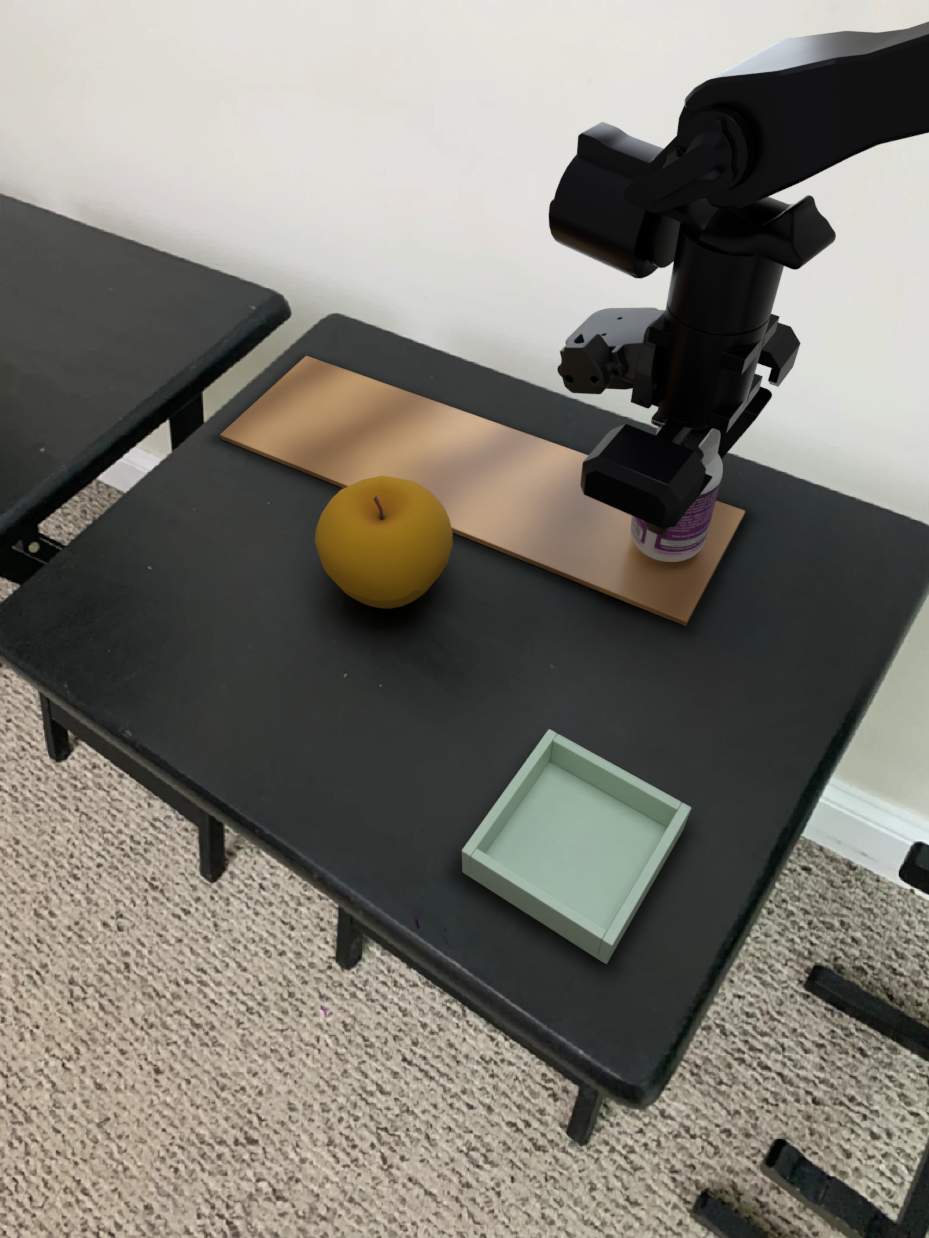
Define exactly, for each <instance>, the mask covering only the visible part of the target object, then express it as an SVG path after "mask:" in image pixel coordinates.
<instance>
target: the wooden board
mask: <svg viewBox="0 0 929 1238" xmlns="http://www.w3.org/2000/svg"><path fill="white" fill-rule="evenodd" d="M219 438H220V439H221V440H222V441H225V442H227V443H229V444H232V445H235V446H237V447H240V448H242V449H245V450H247V451H249V452H252V453H255V454H257V455H259V456H262V457H265V458H267V459H269V460H272V461H275V462H277V463H278V464H282V465H284V466H287V467H289V468H292V469H293V470H297V471H299V472H302V473H304V474H306V475H309V476H311V477H314V478H317V479H319V480H322V481H324V482H327V483H329V484H331V485H333V486H337V487H338V488H341V489H344V488H346V487H348V486H350V485H352V484H354V483H357V482H359V481H361V480H364V479H369V478H373V477H378V476H387V477H393V478H399V479H405V480H411V481H413V482H415V483H418V484H419V485H421V486H422V487H424V488H425V489H427V490H428V491H430V492H431V493H432V494H433V495H434V496H435V497H436V498H437V499H438V500H439V501H440V503H441V504H442V505H443V506H444V508H445V510H446V512H447V515H448V517H449V520H450V523H451V527H452V533H453V534H455V535H457V536H460V537H464V538H466V539H469V540H471V541H473V542H476V543H478V544H480V545H483V546H485V547H488V548H491V549H493V550H496V551H498V552H499V553H503V554H505V555H507V556H510V557H513V558H515V559H518V560H520V561H523V562H525V563H528V564H531V565H532V566H535V567H538V568H540V569H542V570H545V571H548V572H550V573H551V574H555V575H557V576H560V577H562V578H565V579H568V580H570V581H572V582H575V583H577V584H580V585H582V586H585V587H587V588H590V589H591V590H595V591H597V592H599V593H602V594H604V595H607V596H610V597H612V598H614V599H617V600H620V601H622V602H625V603H627V604H629V605H632V606H635V607H637V608H638V609H642V610H644V611H647V612H649V613H652V614H654V615H657V616H659V617H662V618H664V619H666V620H669V621H671V622H674V623H677V624H679V625H682V626H684V627H686V626H687V625H688V623H689V622H690V619H691V617H692V615H693V614H694V612H695V610H696V608H697V606H698V604H699V602H700V600H701V599H702V596H703V595H704V592H705V591H706V589H707V587H708V585H709V583H710V581H711V580H712V578H713V576H714V574H715V572H716V570H717V568H718V566H719V564H720V563H721V561H722V558H723V556H724V555H725V553H726V551H727V549H728V547H729V545H730V544H731V542H732V540H733V537H734V536H735V534H736V532H737V530H738V528H739V526H740V524H741V523H742V521H743V519H744V517H745V515H746V510H745V509H742V508H738V507H736V506H733V505H730V504H727V503H725V502H721V501H719V500H716V502H715V506H714V510H713V514H712V518H711V522H710V526H709V529H708V533H707V537H706V540H705V543H704V545H703V547H702V549H701V550H700V551H699V552H698V553H697V554H696V555H695V556H693V557H692V558H689V559H687V560H683V561H679V562H664V561H659V560H655V559H653V558H650V557H648V556H647V555H645V554H644V553H642V552H641V551H640V550H639V549H638V547H637V546H636V545H635V544H634V542H633V540H632V538H631V533H630V531H631V530H630V528H631V520H632V515H629V514H627V513H625V512H623V511H620V510H618V509H616V508H613V507H611V506H609V505H606V504H604V503H602V502H600V501H597V500H595V499H593V498H590V497H588V496H586V495H584V494H583V491H582V489H581V486H580V483H581V473H582V464H583V461H584V460H585V459H586V458H587V457H588V456H589V454H586V453H583V452H580V451H577V450H574V449H572V448H569V447H566V446H563V445H561V444H558V443H554V442H552V441H550V440H547V439H543V438H540V437H537V436H536V435H532V434H529V433H527V432H524V431H521V430H518V429H514V428H512V427H509V426H507V425H504V424H501V423H498V422H495V421H492V420H490V419H487V418H485V417H482V416H478V415H476V414H473V413H470V412H467V411H464V410H461V409H459V408H456V407H453V406H450V405H447V404H445V403H442V402H439V401H436V400H433V399H430V398H428V397H425V396H422V395H419V394H416V393H413V392H410V391H408V390H404V389H403V388H399V387H396V386H393V385H390V384H388V383H385V382H382V381H380V380H376V379H374V378H371V377H368V376H365V375H362V374H360V373H358V372H357V373H356V372H354V371H351V370H348V369H345V368H342V367H339V366H337V365H334V364H332V363H328V362H326V361H323V360H320V359H317V358H315V357H312V356H308V355H305V356H304V357H303V358H301V359H300V360H299V362H298V363H296V364H295V365H294V366H293V367H292V368H291V369H290V370H289V371H288V372H286V373H285V374H284V375H283V376H282V377H281V378H280V379H279V380H277V381H276V383H274V385H272V386H271V387H270V388H269V389H268V390H267V391H266V392H265V393H263V394H262V396H260V397H259V398H258V399H257V400H256V401H255V402H254V403H253V404H252V405H251V406H249V408H247V409H246V410H245V411H244V412H243V413H242V414H240V416H239V417H237V418H236V419H235V420H234V421H233V422H232V423H231V424H230V425H229V426H228V427H226V428H225V429H224V430H222V432H221V433H220V434H219Z"/></svg>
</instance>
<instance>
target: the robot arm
mask: <svg viewBox="0 0 929 1238" xmlns="http://www.w3.org/2000/svg"><path fill="white" fill-rule="evenodd" d="M683 104H684V105H683V107H682V110H681V111H680V114H679V116H678V122H677V129H676V136H675V137H673V139H671V141H670V142H668V144H667V145H666V146H665V147H664V148H663V147H661V146H658V145H656V144H653V143H650V142H648V141H645V140H641V139H640V138H637V137H634V136H632V135H630V134H628V133H627V132H625V131H623V130H622V129H621V128H620V127H618V126H616V125H612V124H610V123H608V122H604V121H601V122H599V123H597V124H595V125H593V126H591V127H589V128H588V129H586V130H584V131H582V132H581V133H579V134H578V135H577V146H576V154H575V155H574V156H573V158H572V159H571V160H570V162H569V163H568V165H567V166H566V167H565V170H564V171H563V174H562V176H561V177H560V179H559V182H558V185H557V187H556V190H555V192H554V197H553V199H552V200H551V201H550V203H549V206H548V227H549V231H550V234H551V236H552V238H553V240H554V241H555V242H557V243H558V244H560V245H561V246H563V247H566V248H568V249H570V250H573V251H575V252H577V253H579V254H581V255H583V256H586V257H588V258H590V259H592V260H594V261H596V262H599V263H601V264H603V265H604V266H605V265H606V266H608V267H609V268H612V269H614V270H616V271H618V272H621V273H623V274H625V275H627V276H629V277H632V278H633V279H639V280H641V279H642V280H643V279H644V278H647V277H650V276H651V275H652V274H653V273H655V272H656V271H657V270H658V269H665V268H667V267H669V266H670V265H671V264H672V270H671V276H670V281H669V287H668V292H667V298H666V305H665V309H659V308H656V307H607V308H603V309H600V310H597V311H595V312H593V313H592V314H590V315H589V316H588V317H587V318H586V319H585V320H584V321H583V322H582V323H581V324H580V325H579V326H578V327H577V328H576V329H575V330H574V331H573V332H572V333H571V334H570V335H569V336H568V337H567V338H566V340H565V342H564V343H565V346H564V347H562V349H560V350H559V354H560V360H561V361H560V364H559V365H558V366H557V371H556V372H557V374H558V375H559V376H560V377H561V379H562V382H563V383H562V384H563V386H564V387H565V388H566V390H568V391H569V392H570V393H572V394H583V395H584V394H585V395H602V394H603V393H604V391H606V390H621V391H623V390H624V391H625V390H626V391H627V390H631V397H630V403H632V404H634V405H636V406H639V407H642V408H644V409H651V407H653V406H654V407H656V408H657V410H656V412H655V413H654V414H653V415H652V416H651V418H650V419H651V420H650V423H651V425H653V426H655V427H657V428H658V427H661V430H660V431H659V432H658V433H657V434H656V433H655V434H653V433H650V432H648V431H645V430H643V429H641V428H638V427H636V426H633V425H632V424H631V425H630V424H627V423H624V424H622V425H619V426H618V427H617V426H616V427H614V428H612V429H610V430H609V431H608V432H607V433H606V435H605V436H604V437H603V438H602V440H600V442H599V443H598V444H596V447H594V448H593V450H591V452H590V453H589V454H588V455H589V456H588V457H587V458H586V459H585V460H584V461H583V464H582V473H581V483H580V486H581V489H582V491H583V494H584V495H586V496H588V497H590V498H593V499H595V500H597V501H600V502H602V503H604V504H606V505H609V506H611V507H613V508H616V509H618V510H620V511H623V512H625V513H627V514H629V515H632V516H634V517H636V518H639V519H641V520H643V521H645V523H646V526H647V529H648V530H649V531H650V532H653V533H655V534H657V535H660V536H662V535H663V534H664V533H665V532H666V531H667V530H668V529H669V528H670V527H675V526H676V525H677V523H678V522H679V521H680V519H681V518H682V517H683V515H684V514H685V513H686V511H687V510H688V509H689V507H690V506H691V505H693V504H694V502H695V501H696V500H697V498H698V497H699V496H700V494H701V493H702V492H703V490H704V489H705V488H706V486H707V485H708V484H709V482H710V481H711V479H712V476H710V475H708V474H706V473H705V472H706V468H705V466H704V465H703V463H702V462H703V459H704V453H703V451H702V450H701V449H700V446H701V445H702V444H703V443H704V441H705V440H706V439H707V437H708V436H709V435H710V433H711V432H712V431H713V430H714V429H716V430H719V431H720V443H719V448H718V452H717V453H718V454H719V456H720V458H721V461H722V460H723V458H724V457H726V455H727V454H728V453H729V452H730V450H731V449H732V448H733V447H734V446H735V444H736V443H737V442H739V440H740V438H741V437H742V436H743V435H744V434H745V433H746V432H747V431H748V429H749V428H750V427H751V426H752V424H753V423H754V422H755V421H756V420H757V419H758V417H759V416H760V415H761V413H762V412H763V410H764V409H765V408H766V407H767V405H768V404H769V402H770V401H771V400H772V397H773V392H772V391H771V390H770V389H768V388H766V387H763V386H761V384H762V381H763V377H764V376H763V375H760V374H758V373H756V370H757V367H758V365H761V366H764V367H766V368H769V369H770V372H769V375H768V379H767V382H768V383H769V385H772V386H774V387H778V388H779V387H780V386H781V384H782V383H783V382H784V380H785V379H786V378H787V376H788V375H789V373H790V372H791V371H792V370H793V368H794V366H795V363H796V359H797V356H798V353H799V350H800V348H801V347H800V346H801V342H800V340H799V338H798V336H797V335H796V333H795V331H794V329H793V328H792V326H790V325H788V324H784V323H781V322H779V320H780V317H781V316H780V315H777V314H774V313H772V312H773V308H774V306H775V305H774V304H775V301H776V297H777V293H778V290H779V286H780V283H781V280H782V279H781V278H782V275H783V272H784V268H788V269H790V270H795V271H797V270H799V269H801V268H803V266H805V265H807V264H808V263H809V262H810V261H811V260H813V259H814V258H815V257H817V256H818V255H819V254H820V253H822V252H823V251H824V250H826V249H827V248H828V247H830V246H831V245H832V244H833V243H834V242H835V241H836V238H837V234H836V231H835V230H834V229H833V227H832V225H831V223H830V222H829V220H828V219H827V218H826V217H825V216H824V215H823V214H821V212H820V210H819V208H818V207H817V204H816V201H815V198H814V196H813V195H810V194H809V195H807V194H806V195H805V196H804V197H802V198H801V199H800V200H798V201H797V202H794V203H786V202H784V201H781V200H778V199H775V198H774V197H772V196H773V195H775V194H777V193H780V192H782V191H784V190H787V189H789V188H791V187H794V186H796V185H798V184H800V183H802V182H805V181H806V180H809V179H810V178H813V177H815V176H816V175H818V174H820V173H822V172H824V171H826V170H829V169H830V168H832V167H834V166H836V165H838V164H840V163H842V162H844V161H846V160H848V159H850V158H852V157H855V156H857V155H858V154H861V153H864V152H866V151H868V150H870V149H872V148H875V147H876V146H879V145H883V144H887V143H888V144H889V143H892V142H896V141H899V140H905V139H908V138H913V137H917V136H920V135H922V136H923V135H925V134H929V21H926V22H923V23H919V24H917V25H914V26H910V27H909V28H908V27H907V28H901V29H895V30H894V29H893V30H888V31H879V32H878V31H877V32H874V31H859V30H857V31H855V30H842V31H834V32H826V33H820V34H819V33H818V34H812V35H803V36H797V37H796V36H795V37H790V38H785V39H780V40H777V41H775V42H774V43H772V44H770V45H768V46H766V47H764V48H763V49H761V50H759V51H758V52H756V53H754V54H752V55H750V56H748V57H747V58H745V59H743V60H741V61H740V62H738V63H736V64H734V65H731V66H730V67H728V68H727V69H725V70H722V71H721V72H719V73H717V74H715V75H714V76H712V77H710V78H708V79H707V80H705V81H703V82H702V83H700V84H698V85H696V86H695V87H693V89H692V90H691V91H690V92H689V93H688V95H686V96H685V98H684V103H683ZM770 196H771V197H770Z"/></svg>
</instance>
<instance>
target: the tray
mask: <svg viewBox="0 0 929 1238" xmlns="http://www.w3.org/2000/svg"><path fill="white" fill-rule="evenodd" d="M691 811H692V807H691V806H690V805H688V804H686V803H685V802H682V801H680V800H679V799H677V798H675V797H673V796H671V795H670V794H668V793H667V792H664V791H663V790H660V789H659V788H657V787H655V786H653V785H652V784H650V783H648V782H646V781H645V780H643V779H640V778H639V777H637V776H635V775H634V774H632V773H630V772H628V771H627V770H624V769H622V768H621V767H619V766H617V765H615V764H613V763H612V762H610V761H608V760H606V759H604V758H603V757H601V756H599V755H598V754H596V753H595V752H592V751H590V750H588V749H587V748H584V747H583V746H581V745H579V744H578V743H576V742H574V741H572V740H571V739H569V738H567V737H565V736H563V735H561V734H559V733H557V732H556V731H554V730H552V729H550V728H549V729H547V731H546V732H545V733H544V735H543V736H542V738H541V739H540V741H539V742H538V744H537V745H536V746H535V747H534V749H533V750H532V752H531V753H530V755H529V756H528V757H527V759H526V760H525V762H524V763H523V764H522V766H521V767H520V769H519V770H518V771H517V773H516V774H515V775H514V777H513V778H512V779H511V780H510V782H509V784H508V785H507V786H506V788H505V789H504V791H503V792H502V793H501V795H500V796H499V798H498V799H497V800H496V801H495V803H494V804H493V806H492V807H491V809H490V810H489V812H488V813H487V814H486V816H485V817H484V819H482V821H481V823H480V824H479V825H478V827H477V828H476V830H475V831H474V833H473V834H472V835H471V836H470V838H469V839H468V841H467V842H466V844H465V845H464V846H463V847H462V849H461V866H462V867H461V868H462V870H461V871H462V873H463V874H464V875H466V876H467V877H469V878H471V879H472V880H474V881H475V882H477V883H478V884H480V885H482V886H483V887H484V888H486V889H488V890H490V891H491V892H492V893H494V894H495V895H497V896H499V897H500V898H501V899H503V900H505V901H506V902H508V903H510V904H511V905H513V906H514V907H516V908H517V909H519V910H521V911H522V912H523V913H525V914H527V915H528V916H529V917H531V918H533V919H534V920H536V921H538V922H539V923H541V924H542V925H544V926H546V927H547V928H549V929H550V930H551V931H553V932H555V933H556V934H558V935H559V936H561V937H562V938H564V939H565V940H568V941H569V942H570V943H572V944H573V945H575V946H576V947H578V948H579V949H581V950H582V951H584V952H586V953H587V954H589V955H590V956H592V957H594V958H595V959H597V960H599V961H600V962H601V963H603V964H605V965H607V964H608V963H609V961H610V960H611V958H612V956H613V955H614V952H615V950H616V949H617V946H618V945H619V943H620V941H621V940H622V938H623V936H624V935H625V933H626V931H627V929H628V928H629V926H630V924H631V922H632V920H633V919H634V917H635V915H636V914H637V912H638V910H639V908H640V906H641V905H642V903H643V901H644V899H645V898H646V896H647V894H648V893H649V891H650V889H651V887H652V886H653V884H654V883H655V880H656V879H657V877H658V876H659V873H660V872H661V870H662V868H663V867H664V864H665V863H666V861H667V859H668V858H669V856H670V854H671V852H672V851H673V849H674V848H675V845H676V844H677V842H678V841H679V838H681V835H682V834H683V831H684V829H685V827H686V824H687V821H688V818H689V816H690V814H691Z"/></svg>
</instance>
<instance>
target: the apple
mask: <svg viewBox="0 0 929 1238" xmlns="http://www.w3.org/2000/svg"><path fill="white" fill-rule="evenodd" d="M453 534H454V533H453V532H452V527H451V523H450V520H449V517H448V515H447V512H446V510H445V508H444V506H443V505H442V504H441V503H440V501H439V500H438V499H437V498H436V497H435V496H434V495H433V494H432V493H431V492H430V491H428V490H427V489H425V488H424V487H422V486H421V485H419V484H418V483H415V482H413V481H411V480H405V479H399V478H393V477H387V476H378V477H373V478H369V479H364V480H361V481H359V482H357V483H354V484H352V485H350V486H348V487H346V488H341V489H340V490H339V491H338V492H337V493H336V494H335V495H334V496H332V498H331V499H330V500H329V501H328V503H327V505H326V506H325V508H324V509H323V510H322V512H321V513H320V517H319V519H318V522H317V524H316V528H315V535H314V543H315V547H316V549H317V550H316V551H317V553H318V556H319V559H320V563H321V566H322V568H323V570H324V571H325V573H326V574H327V575H328V576H329V578H330V579H331V580H332V581H333V582H334V583H335V584H336V585H337V586H338V587H339V588H340V589H341V591H343V592H344V594H346V595H347V596H349V597H351V598H352V599H353V600H355V601H358V602H359V603H362V604H363V605H366V606H367V607H368V606H369V607H373V608H376V609H377V608H378V609H389V610H390V609H396V608H400V607H404V606H406V605H408V604H410V603H412V602H414V601H416V600H418V599H419V598H420V597H422V596H423V595H424V594H425V593H427V592H428V591H429V589H430V588H431V586H432V585H433V584H434V583H435V582H436V580H437V579H438V578H439V577H440V575H441V574H442V573H443V571H444V570H445V568H446V566H447V565H448V562H449V559H450V554H451V551H452V548H453V545H454V540H453Z"/></svg>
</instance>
